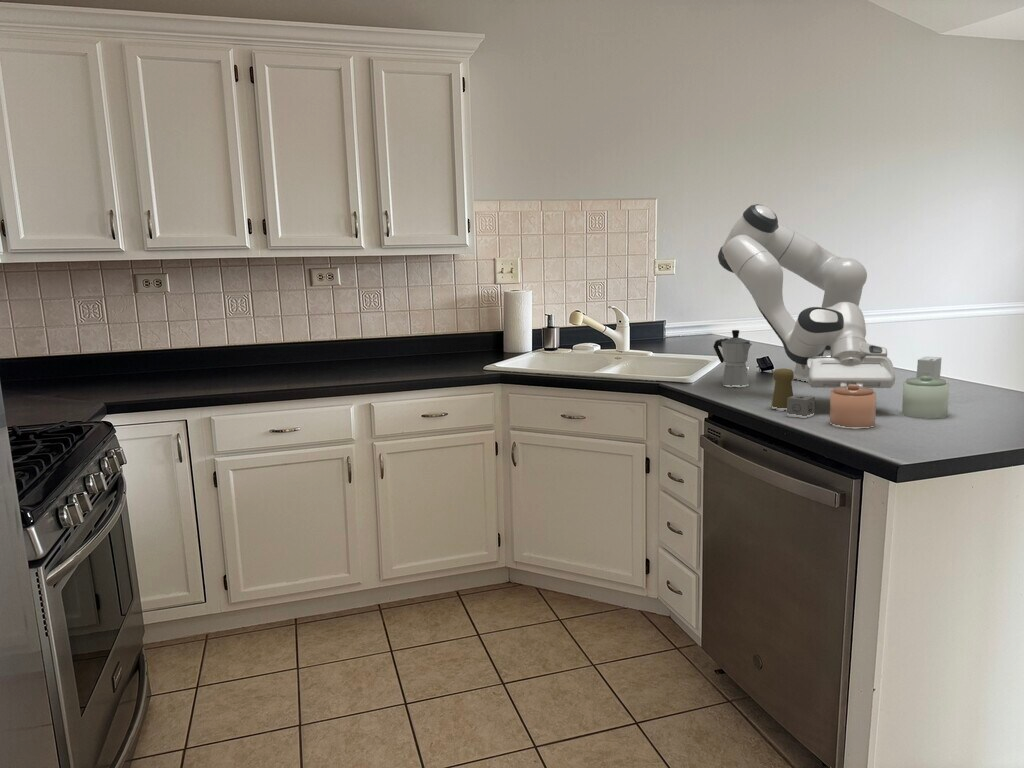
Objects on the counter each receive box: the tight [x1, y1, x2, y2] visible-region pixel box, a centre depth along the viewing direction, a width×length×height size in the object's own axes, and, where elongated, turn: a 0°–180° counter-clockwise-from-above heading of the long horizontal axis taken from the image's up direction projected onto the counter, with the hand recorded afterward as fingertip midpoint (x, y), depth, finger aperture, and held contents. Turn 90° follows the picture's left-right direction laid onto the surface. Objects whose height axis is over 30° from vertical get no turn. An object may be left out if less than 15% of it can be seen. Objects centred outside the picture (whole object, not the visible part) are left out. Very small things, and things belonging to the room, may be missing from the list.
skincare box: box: [915, 356, 942, 379], centre depth 195 cm, size 6×4×12 cm
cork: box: [771, 368, 794, 408], centre depth 196 cm, size 6×6×11 cm
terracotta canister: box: [829, 384, 877, 427], centre depth 175 cm, size 10×10×10 cm
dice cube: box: [786, 394, 816, 416], centre depth 187 cm, size 5×5×5 cm
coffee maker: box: [713, 329, 753, 386], centre depth 232 cm, size 15×9×18 cm, turn 34°
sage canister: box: [901, 376, 950, 420], centre depth 182 cm, size 10×10×10 cm
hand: (852, 399), depth 183 cm, fingers closed
